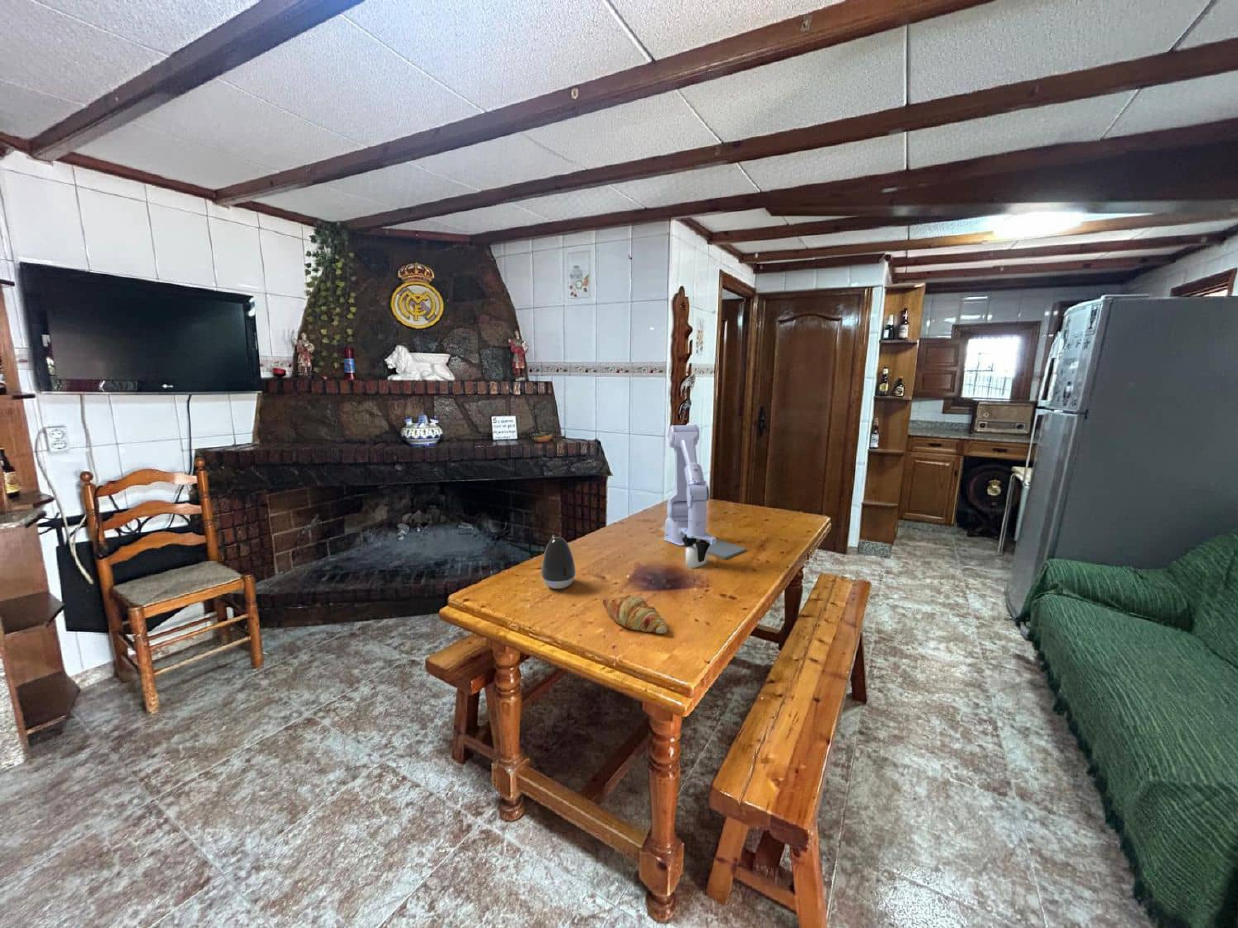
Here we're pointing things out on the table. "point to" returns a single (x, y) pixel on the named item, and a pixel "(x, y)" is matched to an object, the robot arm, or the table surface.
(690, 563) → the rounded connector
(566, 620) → the table surface
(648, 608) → the croissant
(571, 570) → the dark grey egg shape
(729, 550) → the slate mat
